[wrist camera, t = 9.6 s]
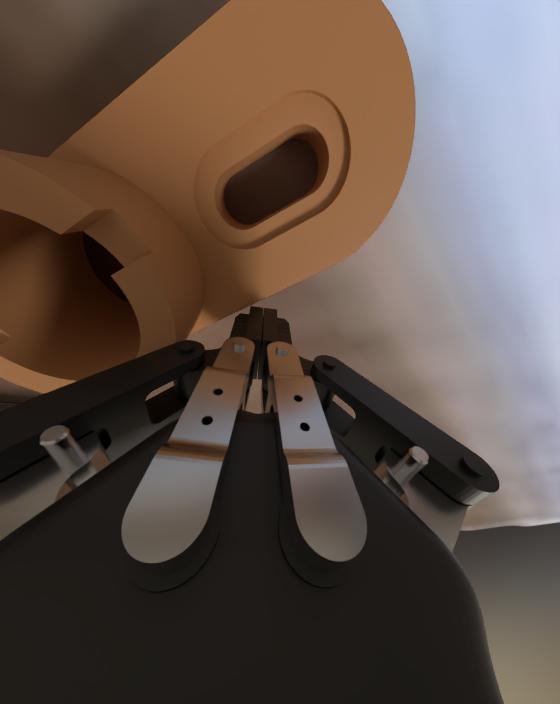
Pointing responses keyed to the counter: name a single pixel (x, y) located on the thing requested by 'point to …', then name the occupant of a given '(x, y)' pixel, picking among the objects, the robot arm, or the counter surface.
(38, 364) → the bracket
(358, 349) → the counter surface
